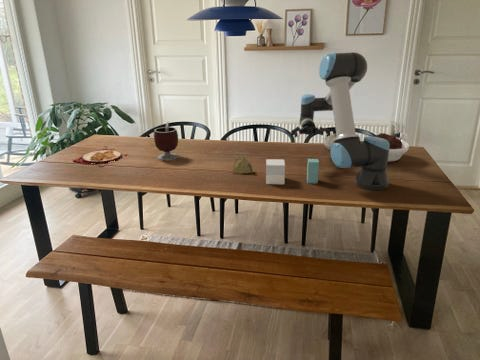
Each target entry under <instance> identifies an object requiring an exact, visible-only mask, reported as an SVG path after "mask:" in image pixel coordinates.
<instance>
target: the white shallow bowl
mask: <svg viewBox="0 0 480 360" xmlns="http://www.w3.org/2000/svg"><path fill="white" fill-rule="evenodd" d="M372 137H378V138H382V139H385V140H387V141H388V142H389V144H390V145H389V154H388V161H387V162H396V161H399V160H400V159H401V158H402V156H403V155H404V154H406V152H408V150H409V149H410V145H409V143H408V142H406V141H404V140H401V139H400V138H399V139H398V138H397V137H396V135H390V134H388V133H383V132H381V133H378V134H376V135H372Z"/></svg>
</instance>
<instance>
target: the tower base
mask: <svg viewBox="0 0 480 360" xmlns="http://www.w3.org/2000/svg"><path fill="white" fill-rule="evenodd" d="M285 175H286V174H285ZM285 175H266V174H265V184H266V185H285V177H286V176H285Z"/></svg>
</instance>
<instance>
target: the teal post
mask: <svg viewBox="0 0 480 360" xmlns="http://www.w3.org/2000/svg"><path fill="white" fill-rule="evenodd" d="M319 165H320V161H319V159H318V158H307V165H306V168H307V170H306V182H307V184H318V183H319V168H320V166H319Z"/></svg>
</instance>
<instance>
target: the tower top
mask: <svg viewBox="0 0 480 360" xmlns="http://www.w3.org/2000/svg"><path fill="white" fill-rule="evenodd" d="M265 161H266V162H265V163H266V164H265V176H266V175H286V173H285V172H286V164H285V159H279V158H277V159H275V158H274V159H272V158H271V159H270V158H269V159H265Z"/></svg>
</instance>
